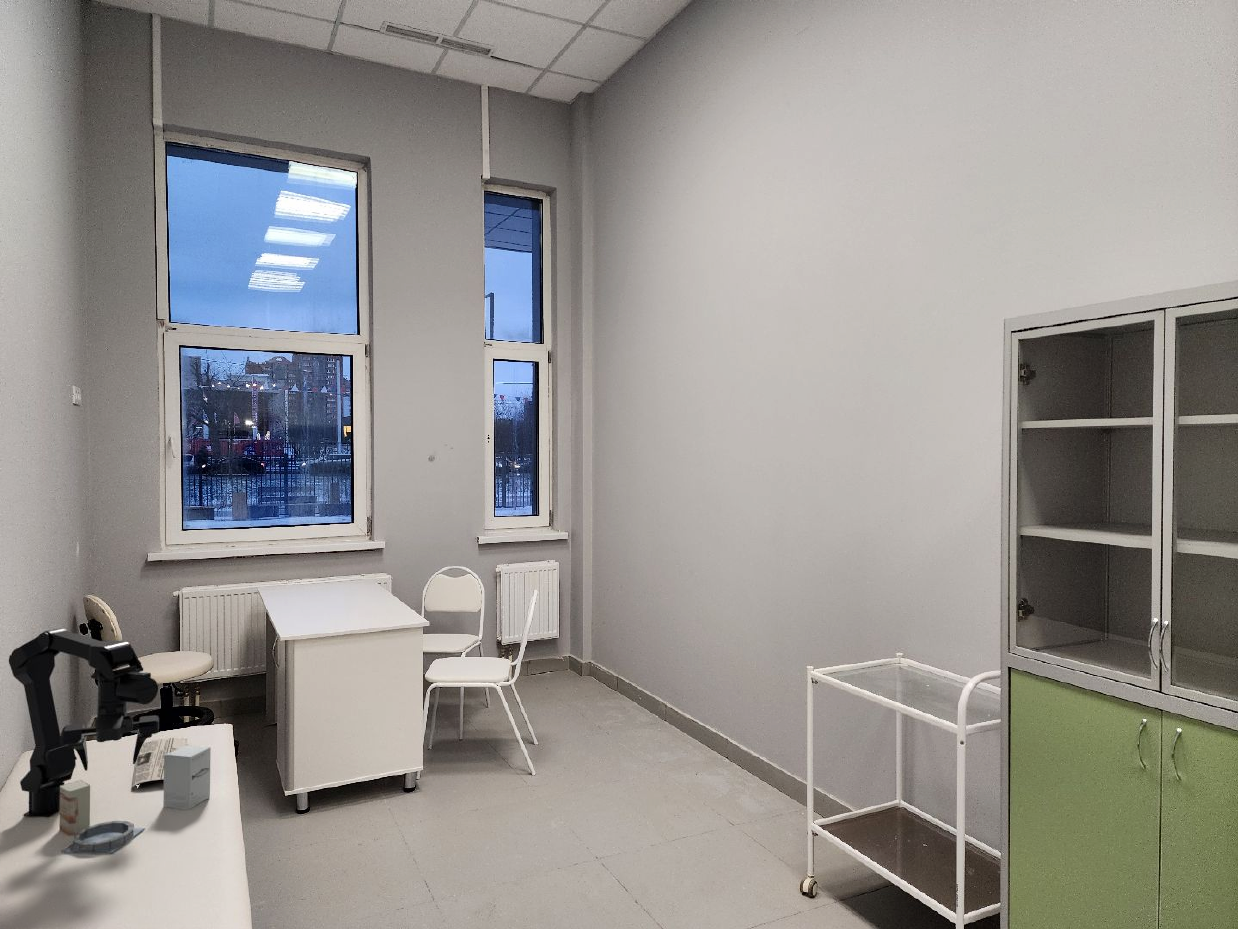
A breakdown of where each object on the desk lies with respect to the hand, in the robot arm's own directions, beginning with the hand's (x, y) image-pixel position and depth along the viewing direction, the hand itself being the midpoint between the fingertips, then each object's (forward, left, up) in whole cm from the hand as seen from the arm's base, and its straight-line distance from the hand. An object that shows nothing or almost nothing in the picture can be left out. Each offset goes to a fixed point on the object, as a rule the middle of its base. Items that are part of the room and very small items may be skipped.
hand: (110, 767), depth 181 cm
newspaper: (-9, +35, -14) cm, 38 cm away
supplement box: (+11, +11, -13) cm, 21 cm away
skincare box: (-6, -4, -13) cm, 15 cm away
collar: (+4, -9, -13) cm, 16 cm away
